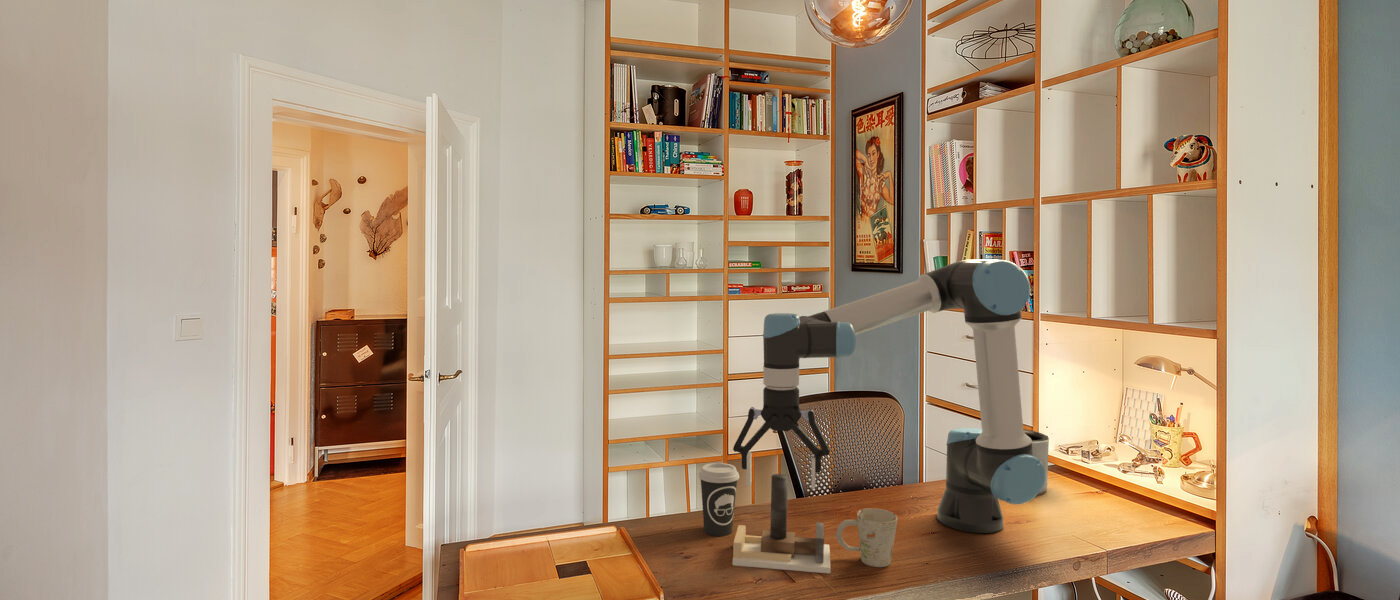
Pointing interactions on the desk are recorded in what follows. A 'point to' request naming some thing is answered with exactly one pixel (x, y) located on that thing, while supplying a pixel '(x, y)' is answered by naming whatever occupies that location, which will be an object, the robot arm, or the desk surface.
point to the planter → (1040, 451)
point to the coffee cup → (718, 497)
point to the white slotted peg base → (774, 556)
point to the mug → (872, 535)
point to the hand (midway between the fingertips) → (780, 485)
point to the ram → (777, 535)
